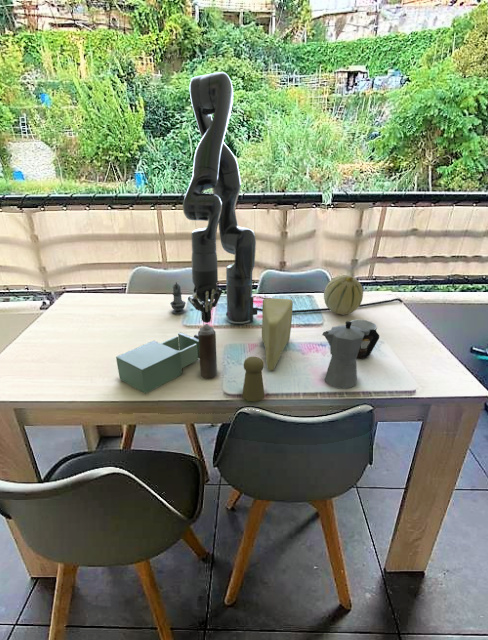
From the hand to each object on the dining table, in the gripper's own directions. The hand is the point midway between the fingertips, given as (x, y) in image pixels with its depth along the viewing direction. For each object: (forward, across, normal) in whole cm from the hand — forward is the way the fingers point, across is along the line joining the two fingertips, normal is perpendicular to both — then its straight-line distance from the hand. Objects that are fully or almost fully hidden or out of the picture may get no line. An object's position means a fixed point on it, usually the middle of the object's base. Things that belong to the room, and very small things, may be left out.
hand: (206, 321), depth 131 cm
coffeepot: (+9, +11, -44) cm, 46 cm away
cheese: (+9, +11, -19) cm, 24 cm away
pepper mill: (+9, -12, -12) cm, 20 cm away
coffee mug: (+9, +27, -38) cm, 48 cm away
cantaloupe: (+9, +55, -18) cm, 59 cm away
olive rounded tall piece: (+10, -12, -29) cm, 33 cm away
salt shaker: (+9, +15, +31) cm, 35 cm away
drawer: (+9, -11, 0) cm, 14 cm away
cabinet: (+10, -24, -1) cm, 25 cm away
